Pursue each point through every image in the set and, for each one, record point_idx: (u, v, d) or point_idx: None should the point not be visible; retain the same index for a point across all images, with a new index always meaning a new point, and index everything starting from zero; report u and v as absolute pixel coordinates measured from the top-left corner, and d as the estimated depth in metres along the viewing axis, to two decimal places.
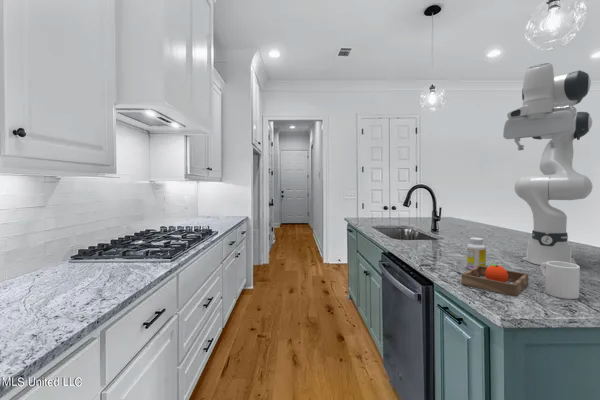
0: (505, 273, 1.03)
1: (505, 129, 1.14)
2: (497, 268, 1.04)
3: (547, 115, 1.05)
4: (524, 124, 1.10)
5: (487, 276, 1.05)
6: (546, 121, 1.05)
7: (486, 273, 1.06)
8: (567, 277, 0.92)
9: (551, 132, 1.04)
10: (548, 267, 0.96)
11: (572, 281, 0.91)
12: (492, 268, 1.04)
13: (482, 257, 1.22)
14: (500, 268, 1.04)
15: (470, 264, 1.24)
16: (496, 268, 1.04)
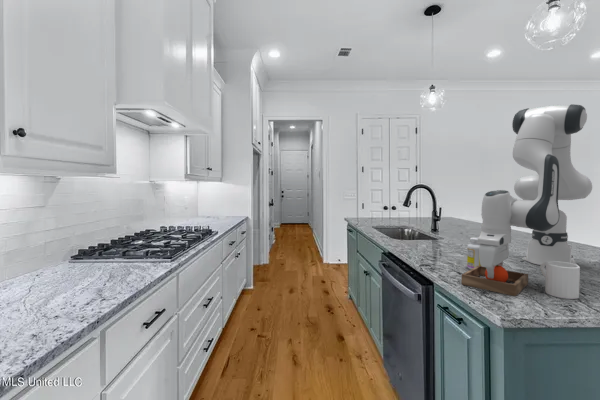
0: (505, 273, 1.03)
1: (494, 258, 0.98)
2: (497, 268, 1.04)
3: None
4: (497, 252, 1.02)
5: (487, 276, 1.05)
6: (502, 249, 1.06)
7: (486, 273, 1.06)
8: (567, 277, 0.92)
9: (504, 259, 1.07)
10: (548, 267, 0.96)
11: (572, 281, 0.91)
12: None
13: None
14: (500, 268, 1.04)
15: (470, 264, 1.24)
16: (496, 268, 1.04)
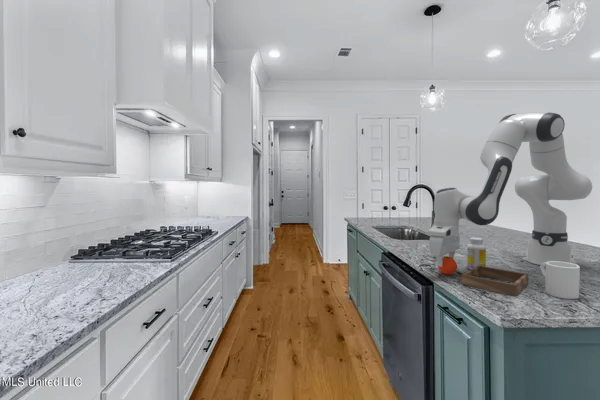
0: (454, 264, 1.15)
1: (441, 247, 1.10)
2: (447, 259, 1.16)
3: None
4: (446, 242, 1.15)
5: (439, 266, 1.18)
6: (452, 240, 1.19)
7: None
8: (567, 277, 0.92)
9: (454, 249, 1.20)
10: (548, 267, 0.96)
11: (572, 281, 0.91)
12: (443, 259, 1.17)
13: (482, 257, 1.22)
14: (450, 259, 1.16)
15: (470, 264, 1.24)
16: (446, 259, 1.17)
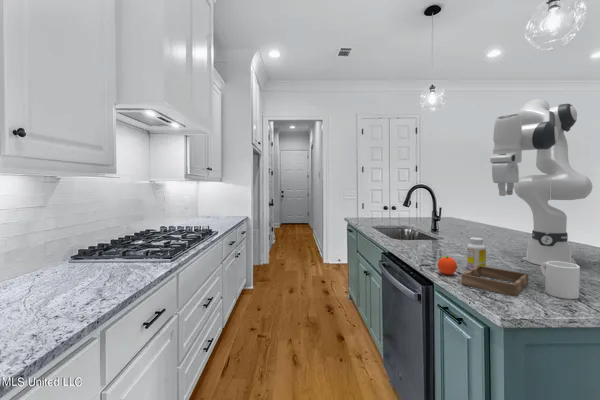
0: (454, 264, 1.15)
1: (506, 173, 1.04)
2: (447, 259, 1.16)
3: None
4: (508, 170, 1.09)
5: (439, 266, 1.18)
6: (513, 170, 1.13)
7: (438, 264, 1.18)
8: (567, 277, 0.92)
9: (514, 181, 1.14)
10: (548, 267, 0.96)
11: (572, 281, 0.91)
12: (443, 259, 1.17)
13: (482, 257, 1.22)
14: (450, 259, 1.16)
15: (470, 264, 1.24)
16: (446, 259, 1.16)
